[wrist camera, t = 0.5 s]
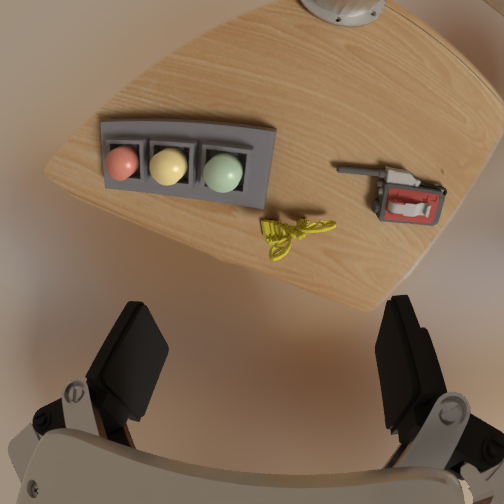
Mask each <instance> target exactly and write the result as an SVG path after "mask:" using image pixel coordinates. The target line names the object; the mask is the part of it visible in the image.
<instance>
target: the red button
mask: <svg viewBox="0 0 504 504" xmlns="http://www.w3.org/2000/svg"><path fill="white" fill-rule="evenodd" d="M139 164H140V159H139V155H138V153H137V151H136V150H135V149H134V148H133V147H131V146H129V145H122V146H120V147H118V148H116V149H114V150H112V151H110V152H109V153H108V154H107V156H106V158H105V168H106V171H107V173H108V174H109V176H110V177H112V178H113V179H115V180H118V181H122V180H125V179H127V178H128V177H129V176H131V175H132V174H134V173H135V172H136V171H137V170H138V168H139Z"/></svg>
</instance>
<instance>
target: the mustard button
mask: <svg viewBox="0 0 504 504" xmlns="http://www.w3.org/2000/svg"><path fill="white" fill-rule="evenodd" d="M149 168H150V173H151V175H152V177H153V178H154V180H155V181H157V182H158V183H159V184H162V185H173V184H175V183H176V182H177V181H178V180H179V179H180V178H182V177H183V176H184V175H185V173H186V172H187V169H188V160H187V157H186V155H185V154H184V153H183V152H182V151H181V150H180V149H178V148H175V147H168V148H165V149H163V150H162V151H160V152H159V153H157V154H155V155H154V156H153V157H152V159H151V161H150V166H149Z"/></svg>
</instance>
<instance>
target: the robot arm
mask: <svg viewBox="0 0 504 504" xmlns="http://www.w3.org/2000/svg"><path fill="white" fill-rule="evenodd" d="M300 1H301V3H302V4H303V5H304V7H305V8H306V9H307V10H308V11H309V12H311V13H312V14H313V15H314V16H316V17H318V18H319V19H321V20H323V21H325V22H328V23H330V24H334V25H337V26H343V27H357V26H363V25H366V24H368V23H370V22H372V21H374V20H375V19H376V18H378V17H379V15H380V14H381V13H382V11H383V8H384V5H385V0H300ZM483 1H485V2H486V3H487V4H488V5H489V6H491V7H492V8H493V9H494V10H496V11H497V12H498V13H500V14H501V15H502V16H504V0H483ZM371 13H372V14H373V16H372V15H371ZM336 19H337V20H339V22H336ZM168 351H169V348H168V344H167V343H166V341H165V339H164V337H163V336H162V334H161V332H160V330H159V328H158V326H157V324H156V323H155V321H154V319H153V317H152V315H151V313H150V311H149V309H148V307H147V306H146V305H144V303H143V302H138V301H129V302H128V303H127V304H126V306H125V308H124V309H123V311H122V312H121V314H120V316H119V317H118V319H117V321H116V322H115V325H114V326H113V328H112V329H111V331H110V333H109V334H108V336H107V338H106V340H105V341H104V343H103V345H102V347H101V349H100V350H99V352H98V354H97V356H96V358H95V360H94V361H93V363H92V365H91V367H90V369H89V370H88V372H87V374H86V376H85V377H86V378H87V381H86V382H85V381H84V380H83V379H81V378H75V379H72V380H71V381H69V382H68V383H67V384H66V385H65V387H64V388H63V391H62V398H60V399H58V400H56V401H54V402H52V403H50V404H48V405H46V406H44V407H42V408H40V409H39V410H37V412H36V413H35V415H34V417H33V424H31V423H30V424H29V425H28V426H26V427H25V428H24V429H23V430H22V431H21V432H20V433H19V434H18V435H17V436H16V437H15V438H14V439H12V440H11V442H10V443H9V446H8V453H9V456H10V458H11V461H12V464H13V466H14V468H15V471H16V473H17V475H18V477H19V479H20V481H21V483H22V484H21V488H20V491H19V495H18V498H17V503H16V504H465V503H464V495H463V491H462V487H461V484H460V482H459V480H458V479H460V480H465V481H466V482H467V483H468V485H469V486H470V488H469V490H470V491H471V492H472V495H473V504H504V434H503V433H502V432H501V431H499V430H498V429H496V428H494V427H493V426H491V425H489V424H487V423H486V422H484V421H482V420H481V419H479V418H477V417H475V416H474V415H472V414H471V413H470V405H469V402H468V400H467V399H466V398H465V396H463V395H462V394H460V393H457V392H448V393H447V389H446V386H445V382H444V379H443V375H442V372H441V368H440V365H439V362H438V359H437V356H436V353H435V349H434V346H433V344H432V341H431V338H430V335H429V333H428V330H427V329H426V328H420V325H419V323H418V320H417V317H416V315H415V312H414V309H413V307H412V304H411V302H410V299H409V297H408V295H397V296H392V298H391V300H387V302H386V306H385V311H384V315H383V319H382V323H381V327H380V330H379V334H378V338H377V341H376V345H375V355H376V361H377V366H378V373H379V378H380V385H381V392H382V399H383V407H384V414H385V424H386V428H387V429H390V430H391V435H393V434H398V435H399V442H400V445H399V446H398V447H397V449H396V450H395V452H394V453H393V454H392V456H391V457H390V459H389V460H388V462H387V463H386V464H385V466H384V467H383V468H382V469H378V470H370V471H362V472H350V473H337V474H318V475H280V474H261V473H250V472H240V471H232V470H224V469H218V468H211V467H206V466H200V465H195V464H190V463H185V462H181V461H177V460H172V459H168V458H164V457H161V456H157V455H153V454H150V453H146V452H143V451H140V450H137V449H136V447H135V445H134V442H133V439H132V437H131V434H130V432H129V429H128V426H127V423H126V422H127V419H128V418H129V419H130V420H134V421H138V422H139V421H140V419H141V417H143V416H144V415H145V412H146V409H147V407H148V404H149V401H150V399H151V396H152V393H153V391H154V388H155V385H156V383H157V380H158V378H159V375H160V372H161V370H162V367H163V365H164V362H165V359H166V357H167V355H168Z"/></svg>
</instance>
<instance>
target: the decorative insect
mask: <svg viewBox="0 0 504 504" xmlns="http://www.w3.org/2000/svg"><path fill="white" fill-rule="evenodd" d="M308 221H309V220H308V219H307V218H306V219H305V220H304V219H302V218H300V220H299V219H298V221H296V223H297V225H296V226H291V225H288V224H287V223H282V222H281V221H277V222H276V221H275V220H271V221H270V220H267V219H265V220H261V225H262V231H263V236H264V237H267V238H266V243H268V244H274V246H273V247H272V248H271V249H270V251H269V257H270V260H273V261H275V260H279V259H281V258H282V257H284V256H285V255H286V254H287V253H288V251H289V250H290V247H291V244H292V238H298V239H302V237H305V236H306V233H316V232H323V231H328V230H332V229H333V228H335V227H336V222H335V221H319V222H316V223H313V224H310V225H308ZM319 224H322V227H316V226H318V225H319ZM327 224H330V225H327ZM326 225H327V226H326ZM314 227H315V228H314ZM288 240H289V241H288ZM287 241H288V243H287V245H286V247H280V245H282V244H284V243H286V242H287ZM275 248H277V250H276V251H274V253H273V254H272V252H273V250H274V249H275ZM282 249H283V250H282ZM280 250H282V251H281V252H280V253H279V254H276V253H277V252H278V251H280ZM275 254H276V255H275Z"/></svg>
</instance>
